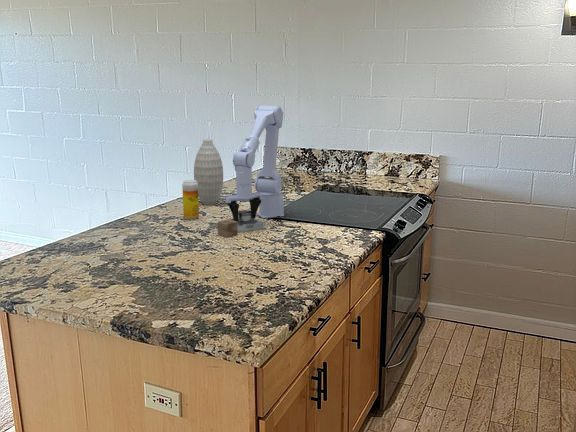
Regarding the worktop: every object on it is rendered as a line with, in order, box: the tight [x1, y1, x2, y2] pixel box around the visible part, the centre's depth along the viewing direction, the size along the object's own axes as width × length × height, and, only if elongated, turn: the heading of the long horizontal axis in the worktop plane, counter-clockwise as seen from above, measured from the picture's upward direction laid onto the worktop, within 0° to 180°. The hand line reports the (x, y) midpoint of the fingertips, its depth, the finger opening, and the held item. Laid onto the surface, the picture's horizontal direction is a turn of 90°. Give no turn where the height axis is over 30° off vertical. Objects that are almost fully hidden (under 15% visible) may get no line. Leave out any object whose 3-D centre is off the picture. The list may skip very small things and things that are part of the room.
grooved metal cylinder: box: [238, 209, 252, 225], centre depth 218 cm, size 5×5×6 cm
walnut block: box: [217, 218, 239, 239], centre depth 208 cm, size 5×5×5 cm
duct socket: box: [225, 217, 264, 233], centre depth 218 cm, size 11×12×2 cm
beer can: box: [181, 179, 200, 221], centre depth 229 cm, size 6×6×15 cm
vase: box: [193, 138, 224, 206], centre depth 252 cm, size 13×13×28 cm
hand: (244, 219), depth 218 cm, fingers open, 7 cm apart
